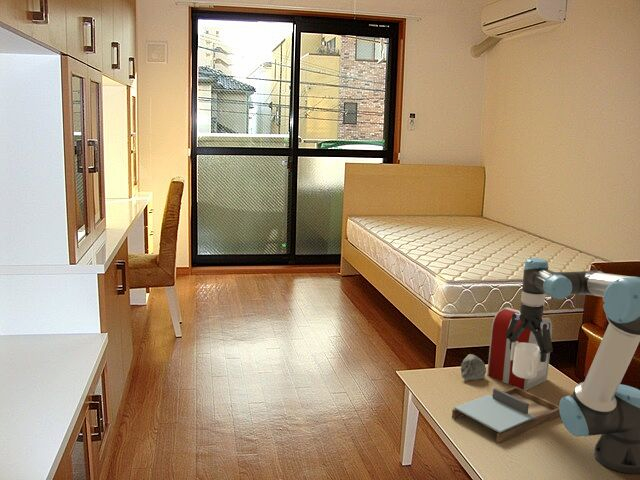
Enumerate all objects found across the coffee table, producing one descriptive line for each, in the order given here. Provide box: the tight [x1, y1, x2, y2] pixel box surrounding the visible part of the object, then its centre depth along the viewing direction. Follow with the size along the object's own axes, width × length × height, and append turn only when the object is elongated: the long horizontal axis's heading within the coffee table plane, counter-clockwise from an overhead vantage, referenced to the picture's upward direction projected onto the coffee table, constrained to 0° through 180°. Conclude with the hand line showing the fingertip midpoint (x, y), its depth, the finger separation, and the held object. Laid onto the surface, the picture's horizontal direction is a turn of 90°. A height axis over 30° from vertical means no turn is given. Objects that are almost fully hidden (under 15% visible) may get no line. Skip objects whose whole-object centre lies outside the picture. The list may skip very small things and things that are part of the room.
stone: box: [460, 353, 487, 382], centre depth 249 cm, size 10×10×10 cm
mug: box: [513, 343, 540, 379], centre depth 218 cm, size 12×8×10 cm
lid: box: [453, 387, 535, 433], centre depth 213 cm, size 19×18×4 cm
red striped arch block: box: [486, 306, 553, 391], centre depth 247 cm, size 16×18×27 cm
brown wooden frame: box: [451, 386, 561, 444], centre depth 218 cm, size 20×34×3 cm, turn 126°
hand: (526, 364), depth 219 cm, fingers closed on mug, 10 cm apart
